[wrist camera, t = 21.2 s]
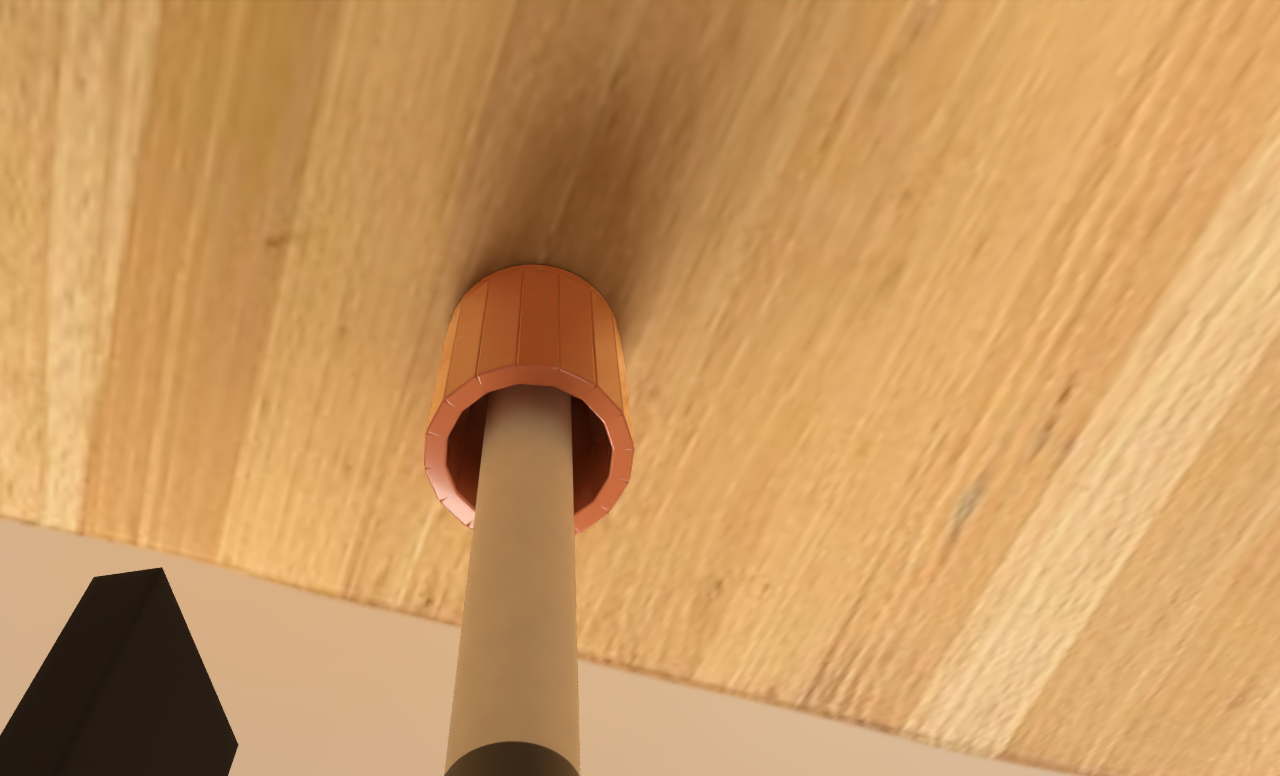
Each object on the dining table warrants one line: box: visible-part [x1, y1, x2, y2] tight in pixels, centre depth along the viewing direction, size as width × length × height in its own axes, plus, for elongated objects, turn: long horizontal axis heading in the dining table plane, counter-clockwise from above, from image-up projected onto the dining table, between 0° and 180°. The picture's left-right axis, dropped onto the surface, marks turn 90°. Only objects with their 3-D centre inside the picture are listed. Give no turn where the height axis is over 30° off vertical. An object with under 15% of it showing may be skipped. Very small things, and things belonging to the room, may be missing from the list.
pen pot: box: [424, 264, 634, 535], centre depth 27 cm, size 5×5×6 cm
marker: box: [444, 384, 580, 776], centre depth 22 cm, size 2×2×16 cm
